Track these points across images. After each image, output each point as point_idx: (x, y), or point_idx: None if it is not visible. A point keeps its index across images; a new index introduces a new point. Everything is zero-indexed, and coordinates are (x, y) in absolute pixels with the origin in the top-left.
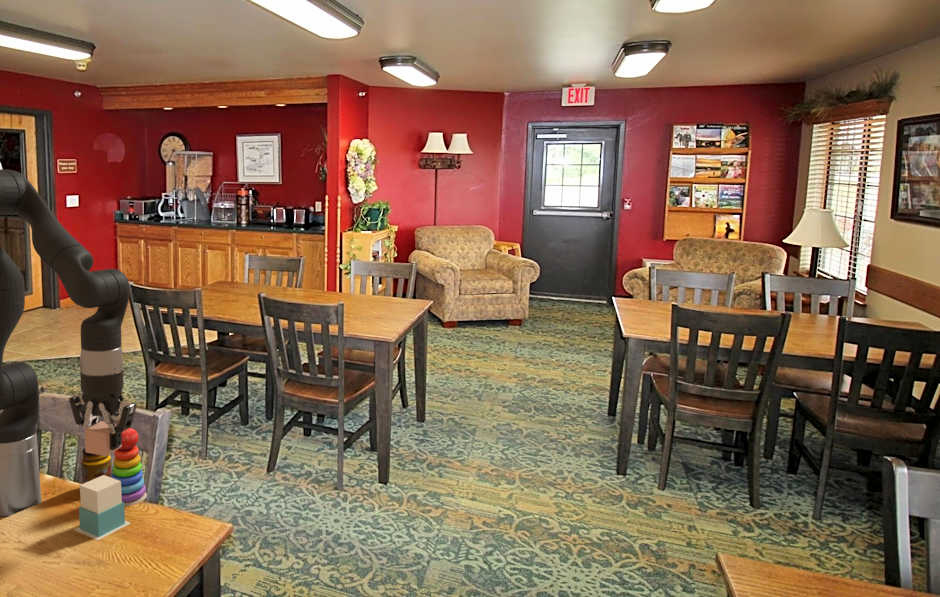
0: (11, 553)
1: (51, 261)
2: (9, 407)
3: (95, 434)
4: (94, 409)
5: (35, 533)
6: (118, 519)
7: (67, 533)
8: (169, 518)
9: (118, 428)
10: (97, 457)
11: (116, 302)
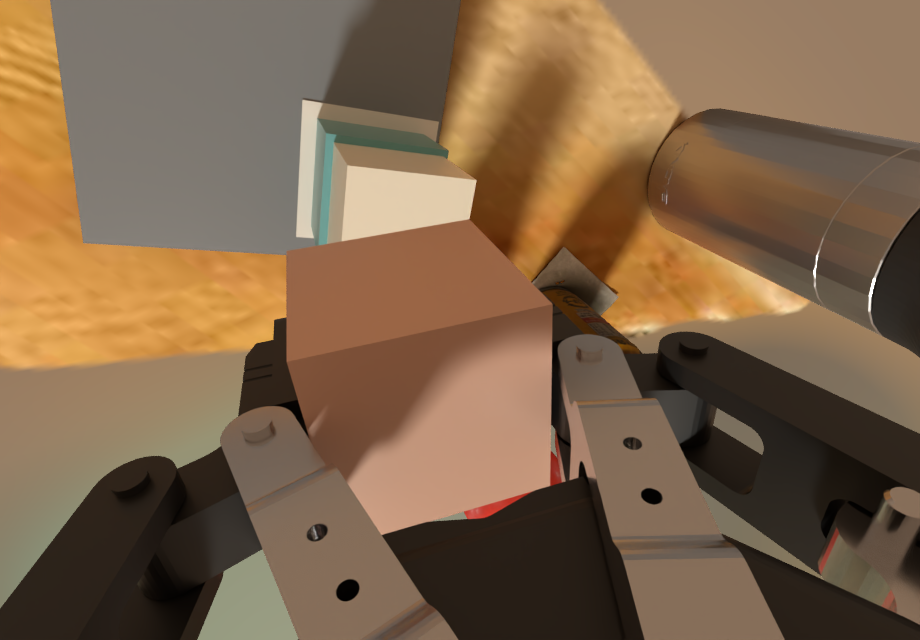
0: None
1: None
2: None
3: (414, 314)
4: (600, 567)
5: (552, 76)
6: (314, 209)
7: (461, 118)
8: (234, 329)
9: (155, 487)
10: None
11: None
